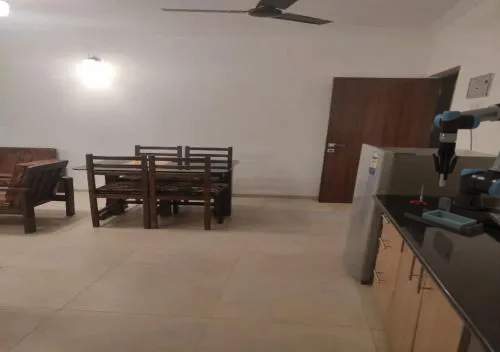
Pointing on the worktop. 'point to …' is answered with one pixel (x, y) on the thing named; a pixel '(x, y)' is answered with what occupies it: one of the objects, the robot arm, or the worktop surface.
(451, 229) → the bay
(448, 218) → the crate
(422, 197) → the tow hook
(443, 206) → the dark grey block
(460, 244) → the worktop surface
